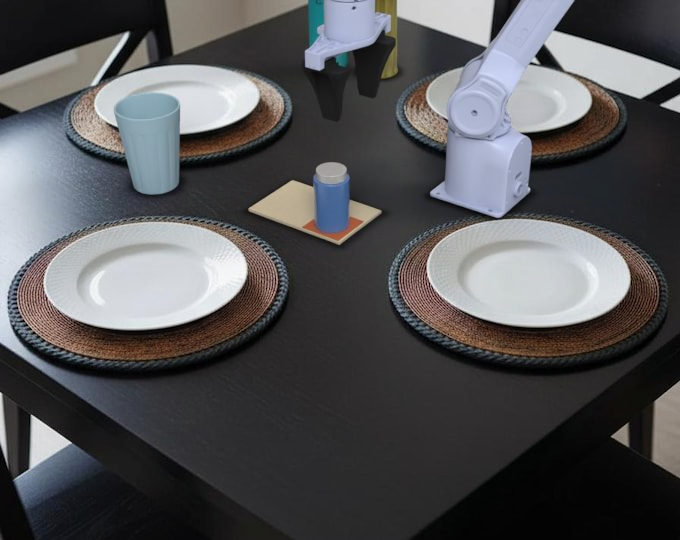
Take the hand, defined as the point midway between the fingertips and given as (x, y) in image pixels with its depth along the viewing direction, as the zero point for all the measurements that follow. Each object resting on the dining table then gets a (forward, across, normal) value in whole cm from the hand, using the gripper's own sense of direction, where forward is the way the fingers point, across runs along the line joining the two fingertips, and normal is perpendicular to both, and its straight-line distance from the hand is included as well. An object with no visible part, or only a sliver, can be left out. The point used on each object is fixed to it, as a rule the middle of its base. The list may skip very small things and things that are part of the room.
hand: (349, 107), depth 123 cm
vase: (+10, -30, -15) cm, 35 cm away
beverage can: (+10, -26, -21) cm, 35 cm away
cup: (+10, +14, -19) cm, 26 cm away
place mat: (+9, +9, +1) cm, 13 cm away
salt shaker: (+9, +11, +5) cm, 15 cm away
